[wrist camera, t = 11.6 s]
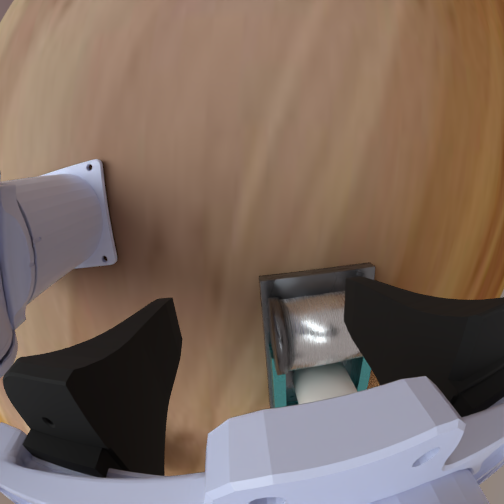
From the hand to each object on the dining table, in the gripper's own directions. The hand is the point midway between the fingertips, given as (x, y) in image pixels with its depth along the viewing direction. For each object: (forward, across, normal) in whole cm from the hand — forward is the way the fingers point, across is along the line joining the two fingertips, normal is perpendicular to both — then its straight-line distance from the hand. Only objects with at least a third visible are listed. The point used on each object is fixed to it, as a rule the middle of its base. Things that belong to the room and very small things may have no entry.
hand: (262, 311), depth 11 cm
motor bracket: (+9, -5, +9) cm, 14 cm away
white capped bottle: (+8, -5, +12) cm, 16 cm away
